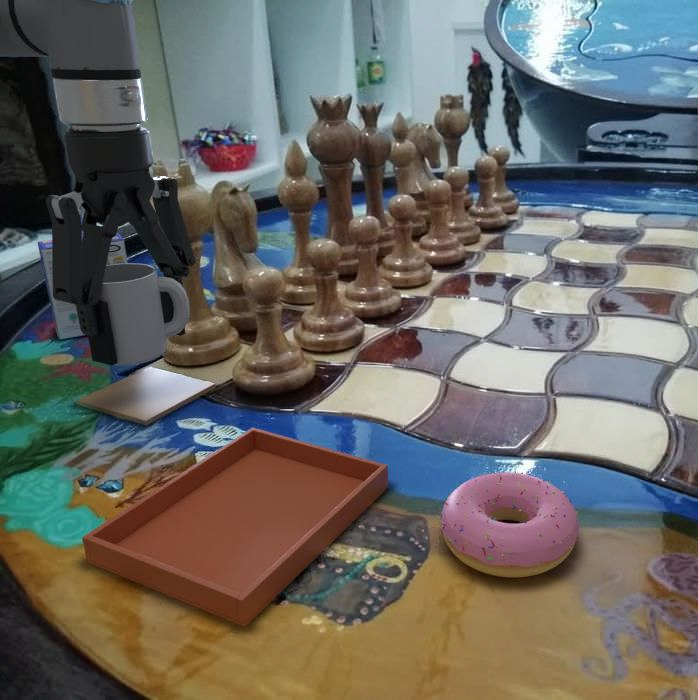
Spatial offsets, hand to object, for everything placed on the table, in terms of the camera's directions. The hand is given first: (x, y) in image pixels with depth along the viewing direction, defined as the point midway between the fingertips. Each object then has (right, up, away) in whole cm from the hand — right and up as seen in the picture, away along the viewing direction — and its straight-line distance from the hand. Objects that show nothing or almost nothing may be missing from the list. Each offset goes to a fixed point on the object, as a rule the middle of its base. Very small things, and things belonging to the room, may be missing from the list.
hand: (141, 346), depth 78 cm
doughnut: (+38, -16, -20) cm, 46 cm away
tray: (+17, -15, -18) cm, 29 cm away
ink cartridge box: (-15, +2, +21) cm, 26 cm away
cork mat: (0, -6, +2) cm, 6 cm away
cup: (0, -1, +1) cm, 1 cm away
